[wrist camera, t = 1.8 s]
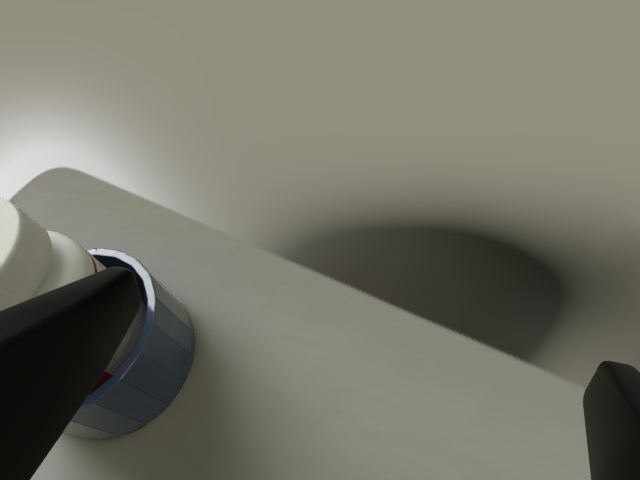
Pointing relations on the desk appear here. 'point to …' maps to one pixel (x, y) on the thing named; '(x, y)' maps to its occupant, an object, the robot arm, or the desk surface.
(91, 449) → the desk surface
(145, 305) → the pill bottle
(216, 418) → the desk surface
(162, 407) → the cup
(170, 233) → the desk surface
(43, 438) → the robot arm
